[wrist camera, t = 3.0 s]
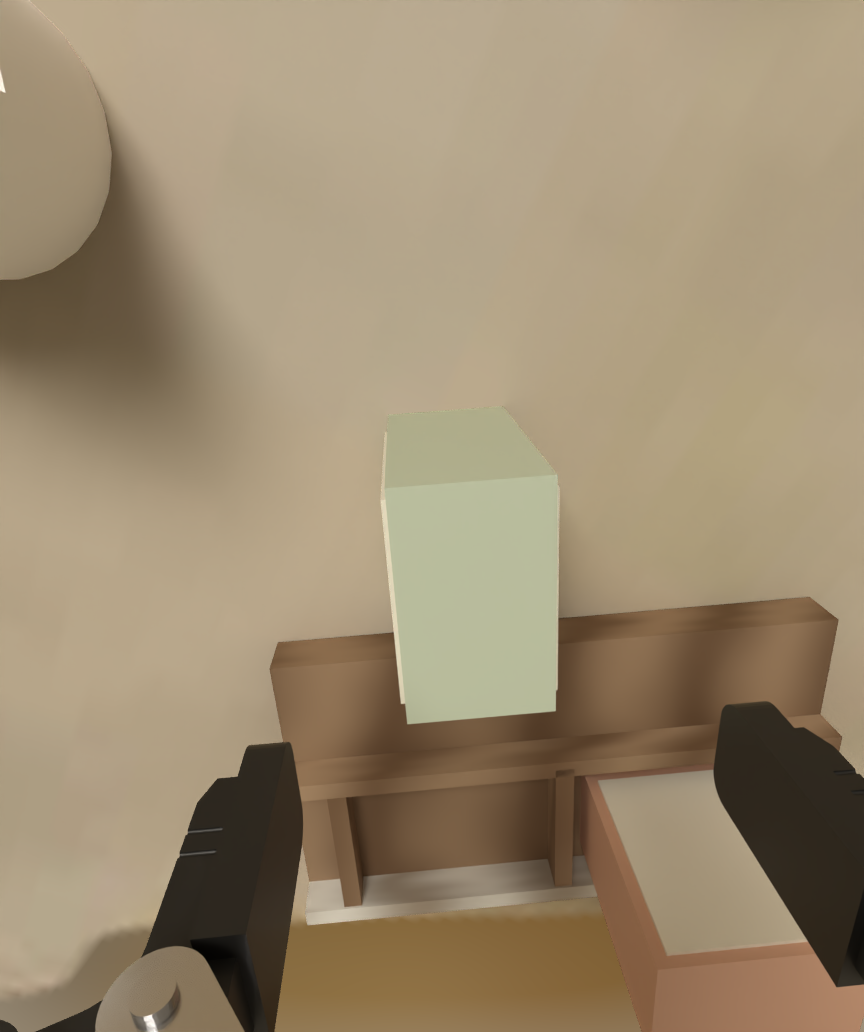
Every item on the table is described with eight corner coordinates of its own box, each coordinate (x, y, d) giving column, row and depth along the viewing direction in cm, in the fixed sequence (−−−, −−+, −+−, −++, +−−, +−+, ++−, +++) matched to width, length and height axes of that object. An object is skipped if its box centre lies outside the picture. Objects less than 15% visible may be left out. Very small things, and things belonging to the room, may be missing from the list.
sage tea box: (384, 414, 25) (378, 488, 16) (506, 405, 25) (563, 474, 16) (400, 586, 27) (402, 725, 19) (510, 576, 28) (560, 710, 19)
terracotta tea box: (743, 749, 29) (884, 943, 21) (731, 828, 31) (858, 1036, 22) (581, 765, 29) (658, 966, 20) (579, 843, 31) (649, 1058, 22)
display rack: (809, 597, 29) (864, 640, 25) (772, 814, 33) (814, 875, 30) (278, 642, 28) (262, 693, 25) (316, 858, 33) (307, 925, 29)
